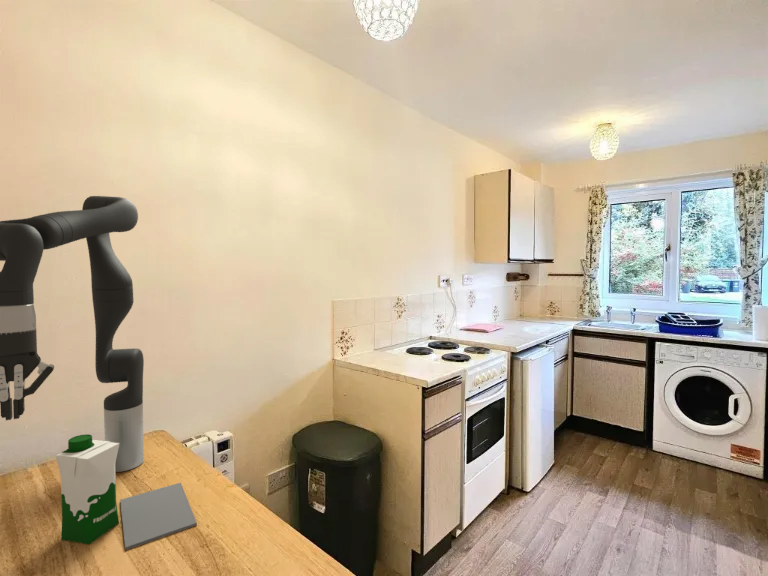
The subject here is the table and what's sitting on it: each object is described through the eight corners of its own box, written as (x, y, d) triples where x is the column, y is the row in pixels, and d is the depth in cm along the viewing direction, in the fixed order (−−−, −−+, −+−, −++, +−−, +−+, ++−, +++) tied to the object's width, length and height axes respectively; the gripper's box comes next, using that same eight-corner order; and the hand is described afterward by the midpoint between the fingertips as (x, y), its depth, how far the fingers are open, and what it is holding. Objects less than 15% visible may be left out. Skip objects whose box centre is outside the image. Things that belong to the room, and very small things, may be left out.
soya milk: (92, 516, 88) (90, 429, 87) (126, 521, 86) (124, 432, 85) (52, 542, 79) (49, 446, 79) (89, 548, 78) (86, 450, 77)
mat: (120, 502, 93) (120, 499, 93) (180, 484, 101) (180, 482, 101) (125, 550, 77) (125, 547, 77) (196, 525, 85) (196, 522, 85)
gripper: (57, 324, 81) (59, 406, 82) (-36, 329, 73) (-32, 420, 74) (54, 328, 75) (56, 416, 76) (-48, 334, 67) (-44, 433, 68)
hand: (12, 418), depth 75 cm, fingers closed
